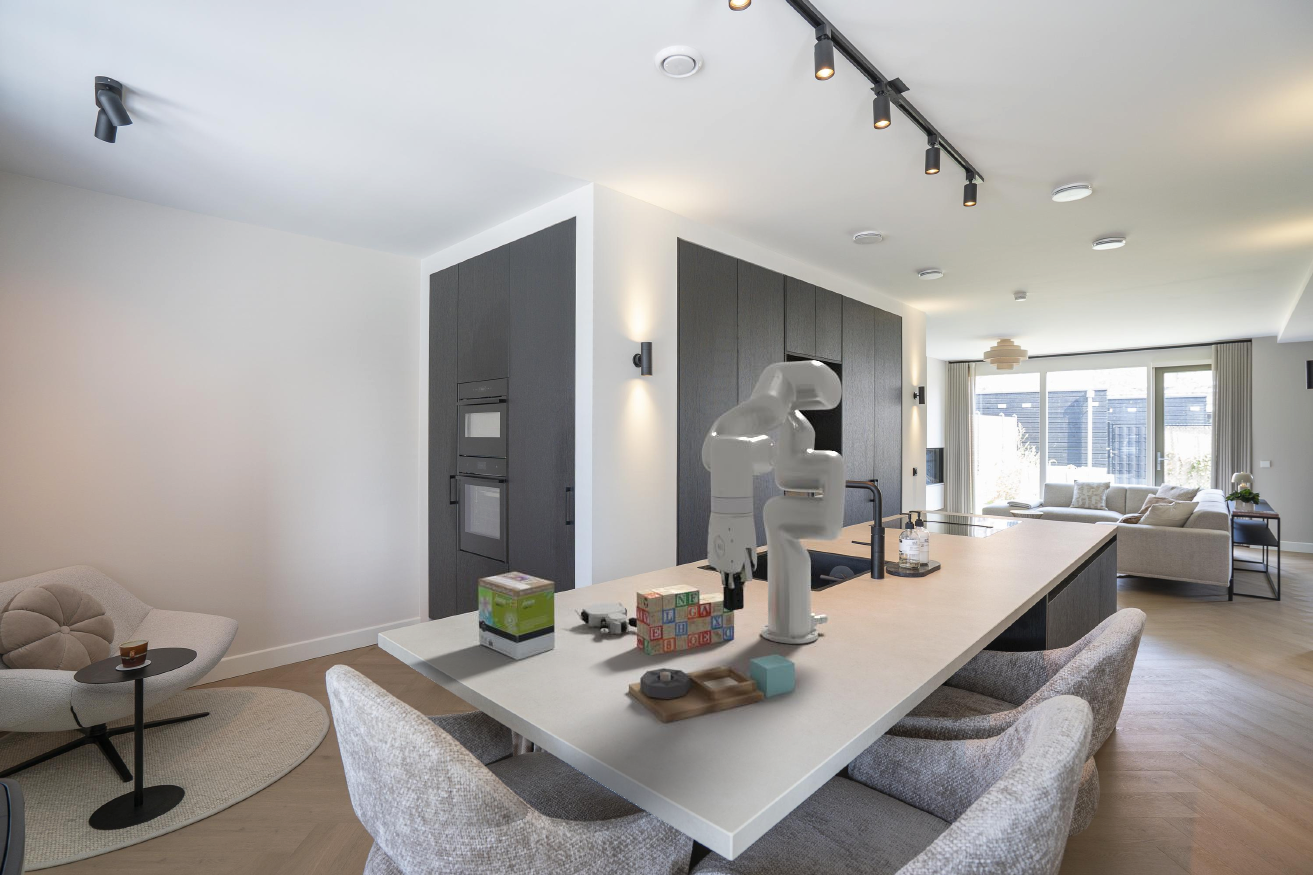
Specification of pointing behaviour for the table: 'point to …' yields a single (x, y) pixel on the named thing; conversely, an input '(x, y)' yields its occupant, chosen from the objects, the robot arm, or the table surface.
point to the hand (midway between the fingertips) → (733, 608)
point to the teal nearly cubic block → (773, 674)
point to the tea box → (516, 614)
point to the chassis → (702, 694)
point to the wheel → (665, 684)
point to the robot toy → (608, 617)
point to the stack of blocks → (681, 619)
